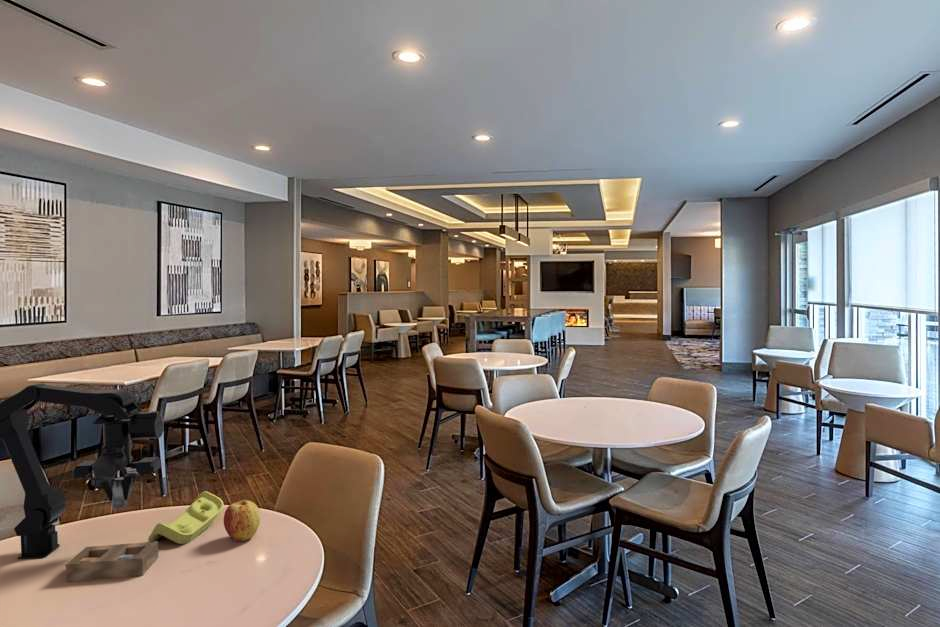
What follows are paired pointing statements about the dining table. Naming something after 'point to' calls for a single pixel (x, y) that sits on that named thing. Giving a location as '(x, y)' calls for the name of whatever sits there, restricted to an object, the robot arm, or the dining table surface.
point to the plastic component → (190, 520)
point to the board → (112, 561)
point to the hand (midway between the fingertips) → (119, 500)
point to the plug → (118, 493)
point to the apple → (242, 520)
